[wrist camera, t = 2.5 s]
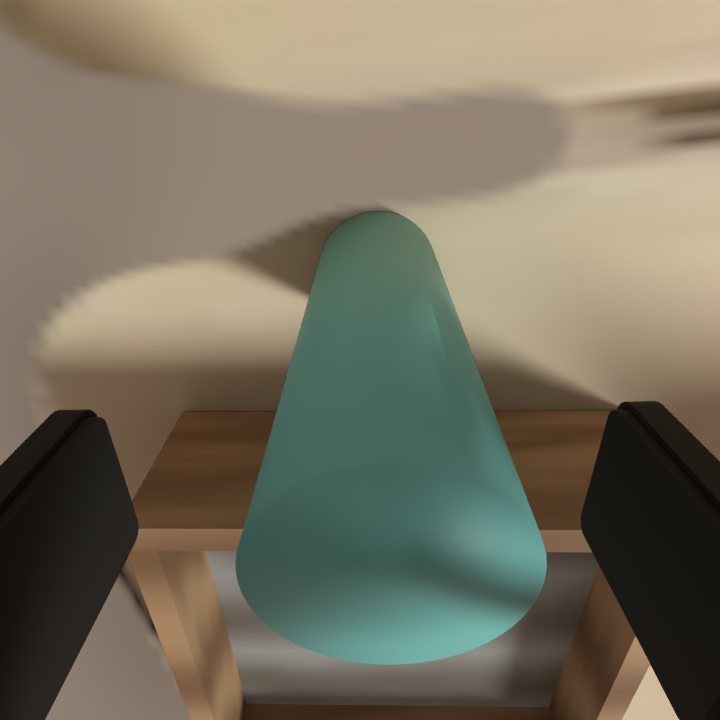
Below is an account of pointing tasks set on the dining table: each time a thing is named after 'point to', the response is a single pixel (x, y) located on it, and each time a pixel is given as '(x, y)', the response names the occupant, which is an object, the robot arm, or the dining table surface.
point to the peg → (387, 470)
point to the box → (361, 680)
